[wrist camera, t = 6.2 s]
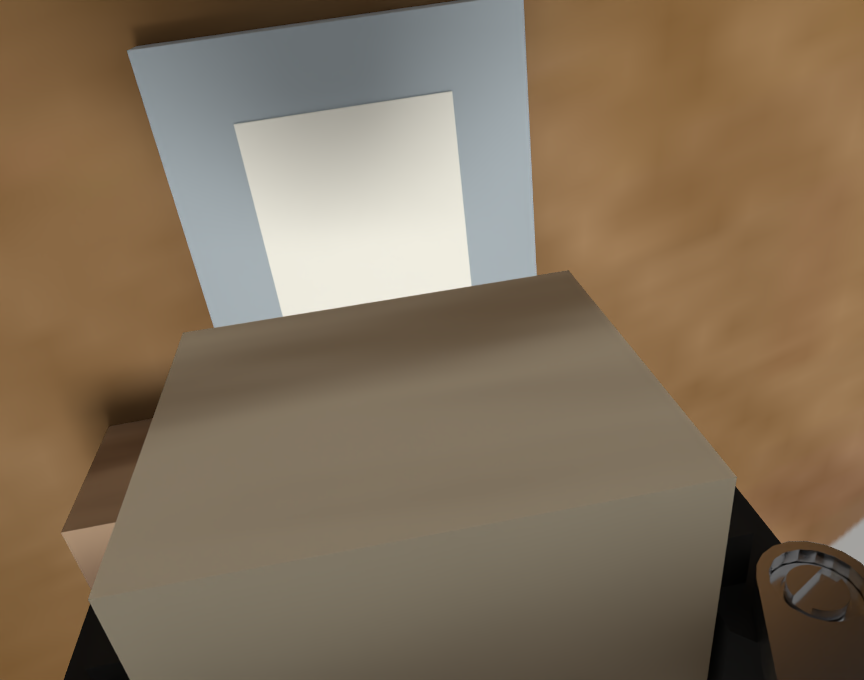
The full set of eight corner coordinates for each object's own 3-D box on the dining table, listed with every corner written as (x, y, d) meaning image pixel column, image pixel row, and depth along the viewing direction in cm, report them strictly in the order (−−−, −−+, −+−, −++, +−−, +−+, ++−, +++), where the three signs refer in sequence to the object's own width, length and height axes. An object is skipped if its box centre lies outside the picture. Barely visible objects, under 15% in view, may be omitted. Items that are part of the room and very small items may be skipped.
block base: (182, 333, 10) (88, 599, 6) (567, 270, 11) (736, 477, 6) (271, 601, 13) (249, 909, 9) (571, 543, 14) (688, 810, 9)
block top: (109, 425, 28) (61, 532, 22) (233, 403, 28) (214, 503, 23) (148, 517, 30) (113, 632, 25) (263, 495, 30) (251, 605, 25)
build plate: (136, 46, 21) (126, 51, 20) (513, -8, 22) (523, -6, 21) (236, 371, 27) (232, 389, 26) (531, 319, 28) (540, 334, 27)
